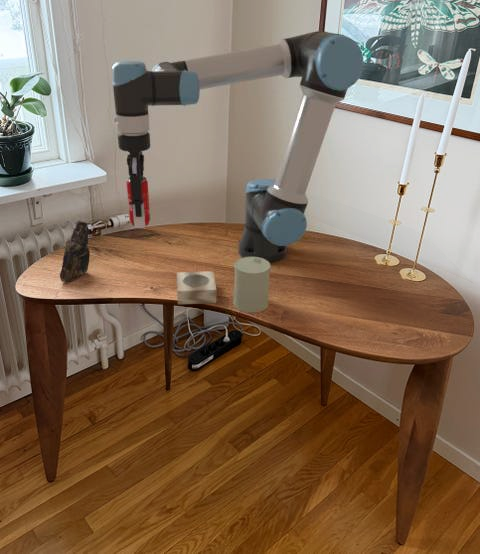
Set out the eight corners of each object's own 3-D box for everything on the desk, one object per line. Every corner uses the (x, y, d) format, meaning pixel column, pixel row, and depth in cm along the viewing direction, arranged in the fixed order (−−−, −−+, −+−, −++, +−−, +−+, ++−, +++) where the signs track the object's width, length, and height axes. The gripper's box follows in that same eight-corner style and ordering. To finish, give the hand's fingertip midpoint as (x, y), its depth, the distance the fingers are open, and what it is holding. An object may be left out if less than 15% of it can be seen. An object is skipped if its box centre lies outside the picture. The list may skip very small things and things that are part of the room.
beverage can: (146, 228, 132) (143, 183, 126) (126, 226, 133) (122, 181, 127) (153, 220, 137) (150, 176, 131) (134, 218, 138) (130, 174, 132)
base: (213, 283, 145) (213, 271, 143) (216, 302, 136) (216, 289, 134) (177, 285, 144) (176, 272, 142) (177, 304, 135) (177, 291, 133)
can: (272, 298, 139) (275, 258, 133) (262, 316, 132) (264, 274, 126) (240, 291, 142) (241, 252, 136) (228, 308, 134) (229, 267, 128)
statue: (54, 281, 144) (46, 231, 136) (83, 264, 153) (77, 216, 146) (70, 286, 142) (62, 236, 134) (98, 268, 151) (93, 220, 144)
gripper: (120, 123, 131) (127, 209, 142) (114, 142, 115) (123, 237, 126) (150, 123, 132) (155, 209, 143) (148, 141, 116) (154, 236, 127)
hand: (140, 222), depth 135 cm, fingers closed on beverage can, 5 cm apart
